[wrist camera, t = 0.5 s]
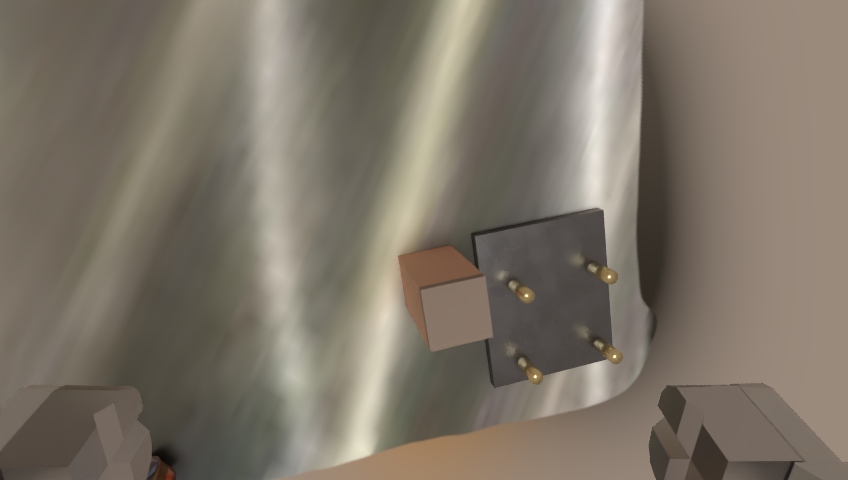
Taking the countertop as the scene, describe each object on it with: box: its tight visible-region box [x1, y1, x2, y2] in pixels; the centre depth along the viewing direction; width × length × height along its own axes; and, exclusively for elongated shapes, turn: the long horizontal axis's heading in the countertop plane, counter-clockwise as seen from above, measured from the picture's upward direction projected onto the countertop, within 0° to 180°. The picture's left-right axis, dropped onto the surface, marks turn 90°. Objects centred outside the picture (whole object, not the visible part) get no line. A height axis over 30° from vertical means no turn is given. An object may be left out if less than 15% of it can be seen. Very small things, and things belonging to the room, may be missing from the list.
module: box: [398, 245, 493, 352], centre depth 50 cm, size 6×6×11 cm
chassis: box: [471, 208, 623, 388], centre depth 56 cm, size 17×14×5 cm
